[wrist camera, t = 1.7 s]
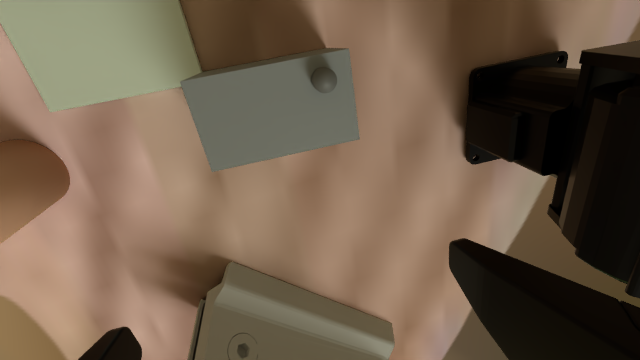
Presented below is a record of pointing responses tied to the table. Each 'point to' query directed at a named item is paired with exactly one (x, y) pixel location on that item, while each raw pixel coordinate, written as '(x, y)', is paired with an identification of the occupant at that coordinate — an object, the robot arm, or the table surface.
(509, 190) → the table surface
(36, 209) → the terracotta cylinder
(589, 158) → the robot arm
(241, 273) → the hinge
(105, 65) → the pad
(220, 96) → the unit
